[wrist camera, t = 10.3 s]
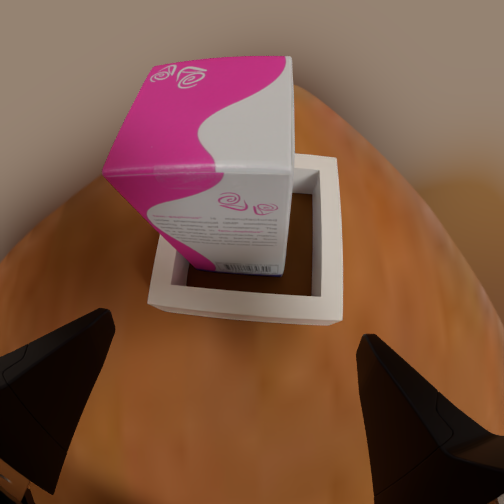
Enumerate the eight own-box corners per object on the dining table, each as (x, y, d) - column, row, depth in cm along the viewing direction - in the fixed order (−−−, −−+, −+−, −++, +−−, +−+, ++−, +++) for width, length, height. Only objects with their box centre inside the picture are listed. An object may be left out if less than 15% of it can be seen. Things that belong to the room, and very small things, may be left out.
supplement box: (288, 194, 19) (297, 52, 8) (283, 278, 17) (299, 183, 6) (206, 190, 20) (150, 61, 9) (193, 271, 18) (92, 182, 7)
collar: (328, 325, 16) (342, 320, 14) (164, 311, 17) (147, 303, 14) (327, 182, 20) (336, 157, 17) (190, 174, 20) (181, 149, 18)
